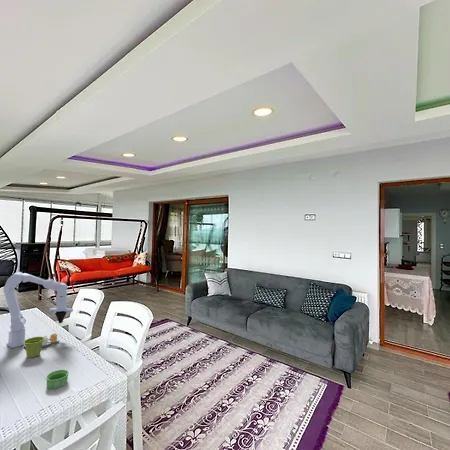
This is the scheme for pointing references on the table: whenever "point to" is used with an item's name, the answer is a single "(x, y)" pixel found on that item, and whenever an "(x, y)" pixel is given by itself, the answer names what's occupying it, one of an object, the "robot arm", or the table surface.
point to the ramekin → (57, 379)
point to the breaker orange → (53, 337)
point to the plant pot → (33, 346)
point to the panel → (47, 344)
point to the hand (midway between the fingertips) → (60, 322)
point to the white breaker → (45, 340)
